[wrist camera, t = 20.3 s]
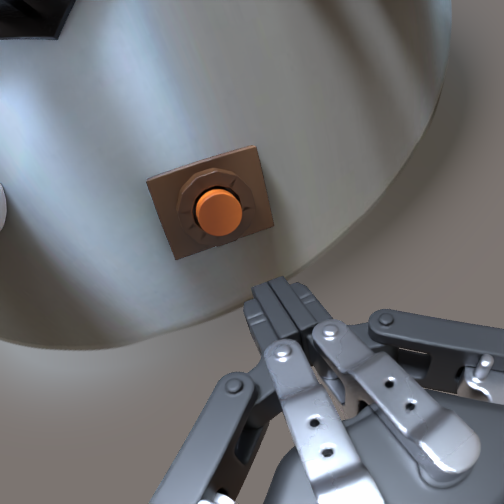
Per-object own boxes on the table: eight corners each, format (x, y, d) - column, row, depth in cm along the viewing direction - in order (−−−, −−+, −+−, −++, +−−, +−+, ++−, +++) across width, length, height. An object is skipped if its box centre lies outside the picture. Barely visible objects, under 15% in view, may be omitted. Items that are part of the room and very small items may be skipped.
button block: (252, 144, 26) (262, 148, 24) (270, 222, 30) (281, 233, 27) (146, 178, 25) (144, 185, 22) (174, 255, 29) (176, 269, 26)
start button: (231, 182, 24) (236, 187, 23) (241, 221, 26) (247, 228, 25) (190, 196, 24) (192, 202, 22) (202, 234, 26) (205, 242, 24)
